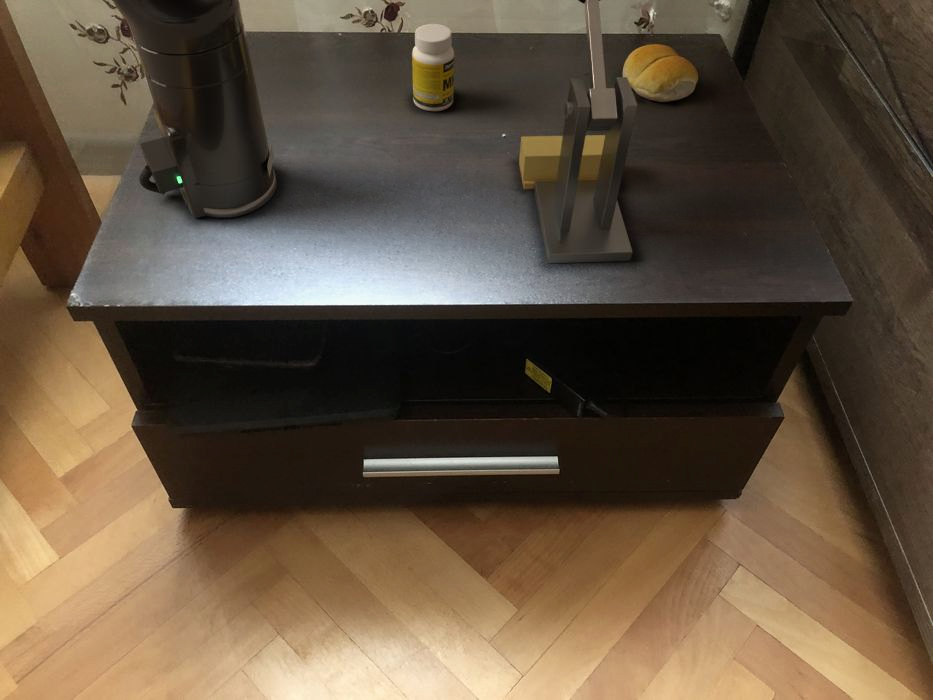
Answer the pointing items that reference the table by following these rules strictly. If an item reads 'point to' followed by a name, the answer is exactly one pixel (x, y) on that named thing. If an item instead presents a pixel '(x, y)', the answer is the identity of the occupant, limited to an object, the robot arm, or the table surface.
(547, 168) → the butter
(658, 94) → the bread roll
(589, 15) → the knife lever
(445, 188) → the table surface
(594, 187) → the stand
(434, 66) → the supplement bottle
